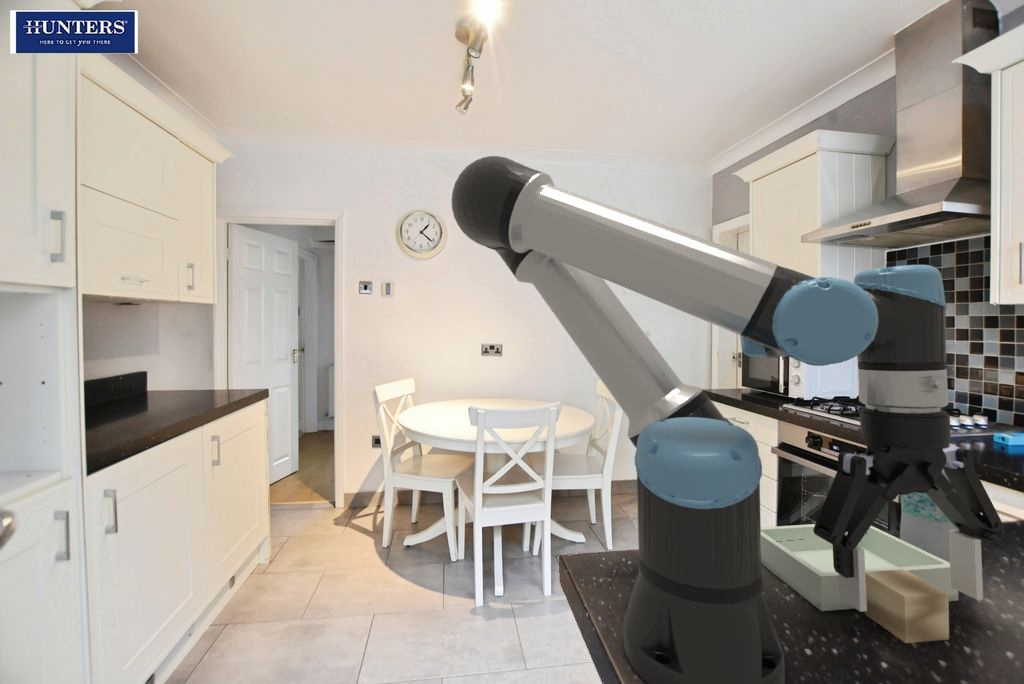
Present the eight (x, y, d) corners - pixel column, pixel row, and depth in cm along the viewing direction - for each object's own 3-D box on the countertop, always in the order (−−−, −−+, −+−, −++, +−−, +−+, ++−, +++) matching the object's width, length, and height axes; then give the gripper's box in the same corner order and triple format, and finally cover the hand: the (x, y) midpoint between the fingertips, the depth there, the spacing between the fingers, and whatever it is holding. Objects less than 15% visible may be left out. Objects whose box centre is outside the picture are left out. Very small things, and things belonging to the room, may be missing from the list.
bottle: (975, 576, 60) (974, 426, 59) (914, 570, 61) (912, 424, 61) (943, 552, 66) (941, 416, 66) (888, 548, 68) (886, 415, 68)
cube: (905, 643, 47) (904, 596, 47) (864, 614, 52) (864, 572, 52) (949, 640, 48) (948, 593, 48) (904, 611, 53) (903, 569, 53)
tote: (821, 611, 53) (821, 576, 53) (751, 555, 67) (750, 528, 67) (958, 600, 55) (958, 566, 55) (862, 548, 68) (861, 521, 68)
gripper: (822, 419, 45) (831, 630, 45) (1046, 405, 47) (1055, 608, 47) (772, 408, 53) (780, 590, 53) (968, 396, 55) (975, 571, 55)
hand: (910, 599), depth 50 cm, fingers open, 13 cm apart
